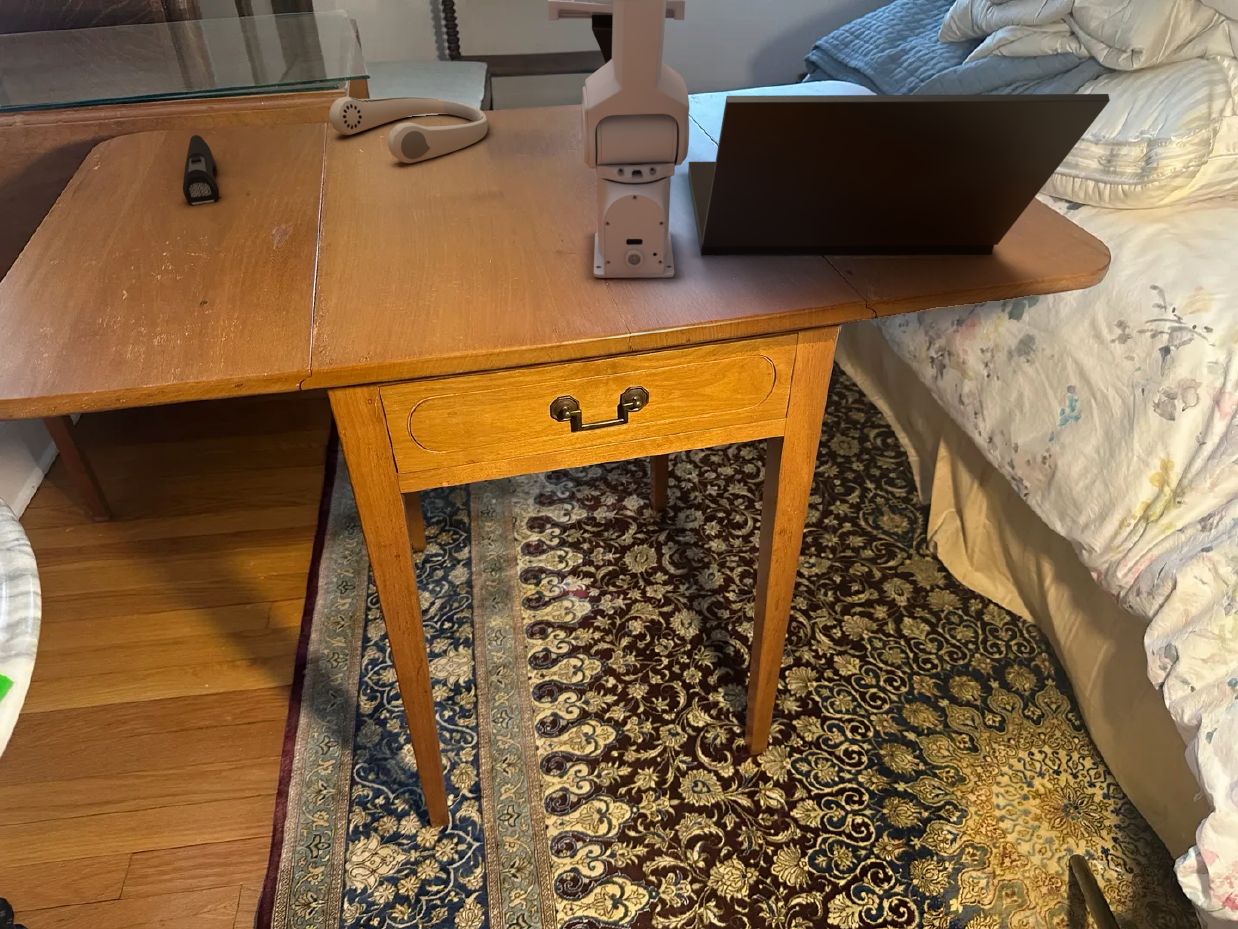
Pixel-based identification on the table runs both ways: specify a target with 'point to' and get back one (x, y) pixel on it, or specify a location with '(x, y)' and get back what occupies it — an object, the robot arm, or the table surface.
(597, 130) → the robot arm
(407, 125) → the beige neck fan
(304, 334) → the table surface
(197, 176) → the electric trimmer
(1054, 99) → the laptop screen
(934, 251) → the laptop
